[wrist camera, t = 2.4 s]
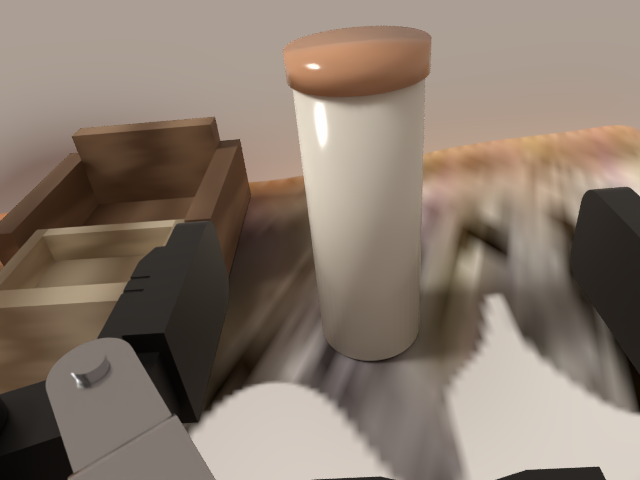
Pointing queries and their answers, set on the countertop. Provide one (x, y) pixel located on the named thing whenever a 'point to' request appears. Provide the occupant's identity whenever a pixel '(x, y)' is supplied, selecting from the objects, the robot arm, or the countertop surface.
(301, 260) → the countertop surface
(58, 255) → the wooden drawer
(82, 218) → the box
